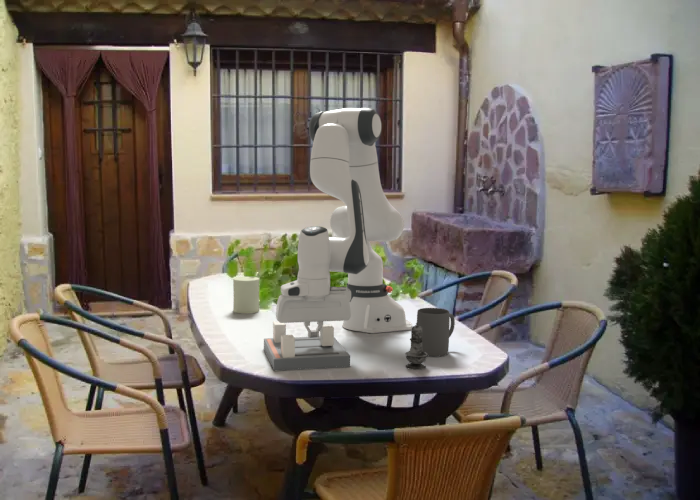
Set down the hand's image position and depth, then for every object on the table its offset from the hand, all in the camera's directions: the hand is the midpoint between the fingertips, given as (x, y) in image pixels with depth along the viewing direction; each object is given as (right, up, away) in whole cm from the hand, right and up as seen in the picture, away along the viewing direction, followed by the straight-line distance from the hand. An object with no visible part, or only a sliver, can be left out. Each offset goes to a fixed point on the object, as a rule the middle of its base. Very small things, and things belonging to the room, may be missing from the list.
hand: (313, 337), depth 204 cm
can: (-26, +2, +60) cm, 65 cm away
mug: (+35, -5, +9) cm, 36 cm away
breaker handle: (+4, -2, +1) cm, 4 cm away
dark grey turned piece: (+27, -7, -7) cm, 29 cm away
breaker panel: (-2, -6, 0) cm, 6 cm away
